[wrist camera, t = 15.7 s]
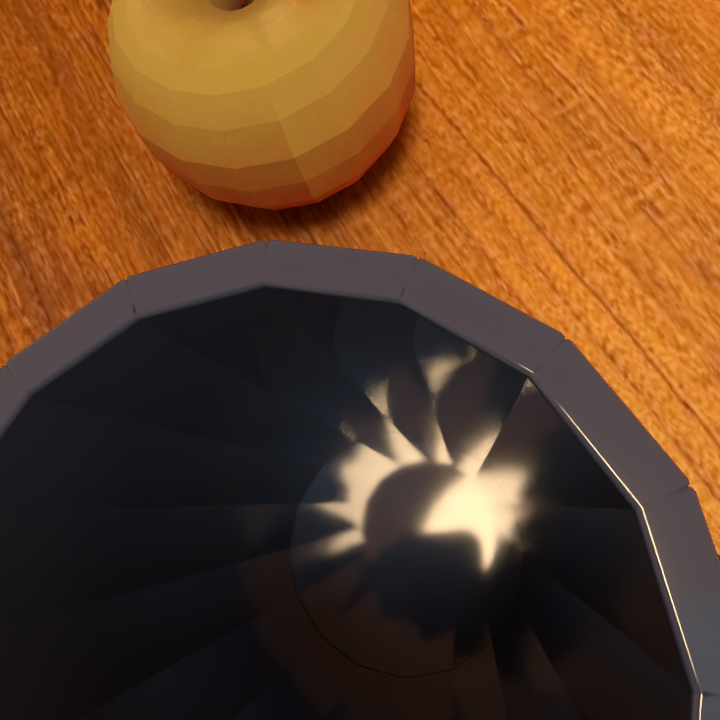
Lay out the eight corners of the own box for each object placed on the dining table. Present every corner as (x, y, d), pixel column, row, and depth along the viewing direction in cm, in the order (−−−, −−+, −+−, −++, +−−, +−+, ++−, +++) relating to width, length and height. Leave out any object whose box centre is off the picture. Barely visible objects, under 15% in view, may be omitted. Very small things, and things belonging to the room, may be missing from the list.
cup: (517, 720, 14) (731, 1588, 3) (258, 650, 16) (-283, 1046, 4) (551, 444, 16) (789, 293, 4) (310, 403, 17) (3, 207, 6)
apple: (393, -3, 24) (360, -243, 16) (450, 205, 21) (444, 38, 14) (170, 68, 25) (39, -125, 17) (198, 274, 22) (60, 155, 15)
